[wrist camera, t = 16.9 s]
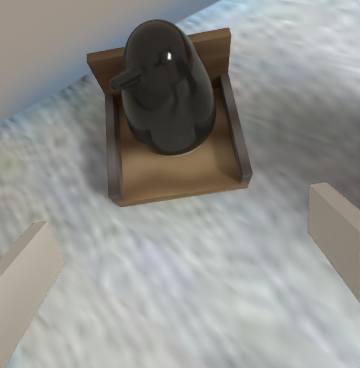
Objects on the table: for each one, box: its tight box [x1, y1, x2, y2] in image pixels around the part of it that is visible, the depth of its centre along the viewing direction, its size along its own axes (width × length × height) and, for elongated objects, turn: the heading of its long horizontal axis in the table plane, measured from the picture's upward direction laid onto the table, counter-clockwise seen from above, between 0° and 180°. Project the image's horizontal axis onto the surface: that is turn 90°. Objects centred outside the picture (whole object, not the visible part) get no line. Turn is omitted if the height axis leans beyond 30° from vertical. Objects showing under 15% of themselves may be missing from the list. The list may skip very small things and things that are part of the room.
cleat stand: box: [87, 28, 252, 207], centre depth 32 cm, size 15×16×10 cm
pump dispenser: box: [109, 19, 216, 157], centre depth 28 cm, size 10×10×15 cm
